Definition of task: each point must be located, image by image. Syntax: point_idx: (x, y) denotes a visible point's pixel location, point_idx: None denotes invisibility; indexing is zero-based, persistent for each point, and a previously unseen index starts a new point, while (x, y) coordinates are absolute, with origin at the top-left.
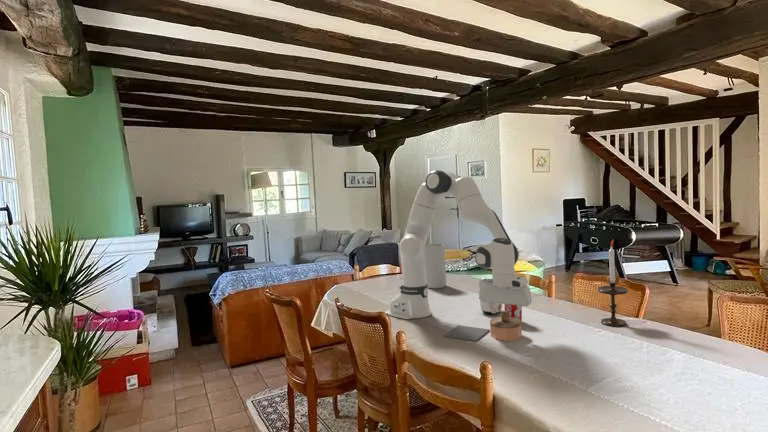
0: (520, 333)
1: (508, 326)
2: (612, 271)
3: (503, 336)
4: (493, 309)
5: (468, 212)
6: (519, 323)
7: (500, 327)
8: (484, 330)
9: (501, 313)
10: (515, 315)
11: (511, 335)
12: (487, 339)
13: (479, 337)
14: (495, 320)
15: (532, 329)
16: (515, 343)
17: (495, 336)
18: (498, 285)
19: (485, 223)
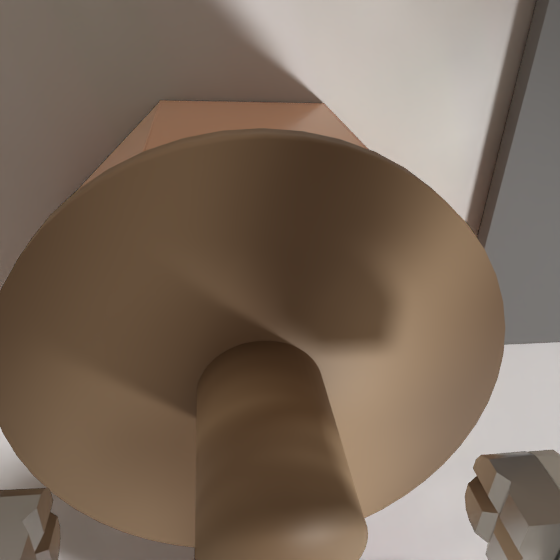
0: None
1: (104, 177)
2: None
3: (212, 113)
4: (552, 524)
5: None
6: (5, 393)
7: (261, 132)
8: (508, 298)
9: (344, 473)
10: (19, 494)
11: (105, 167)
12: (426, 57)
13: (543, 30)
14: (423, 370)
15: (78, 516)
16: (17, 55)
17: (333, 113)
18: None
19: None
